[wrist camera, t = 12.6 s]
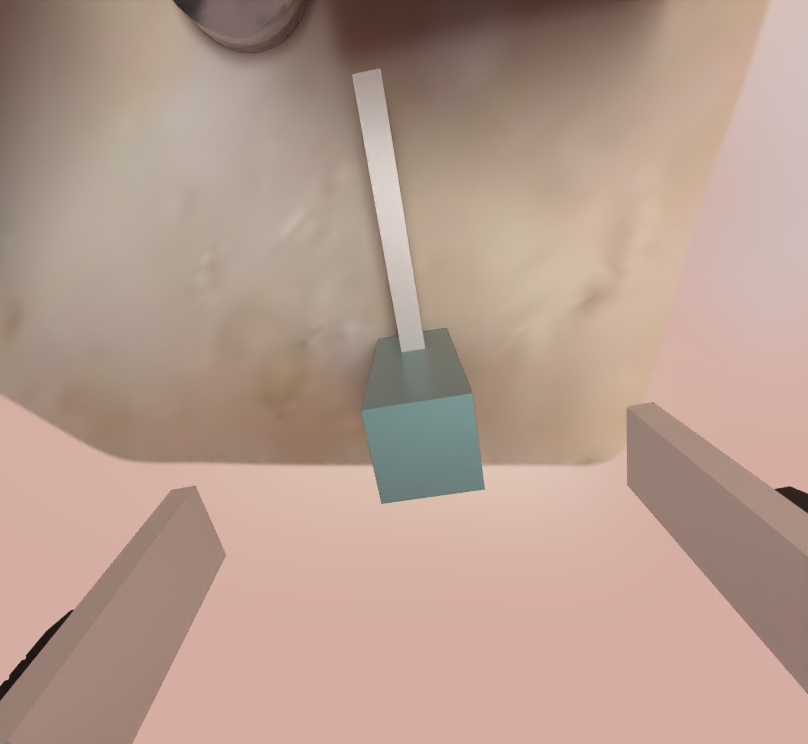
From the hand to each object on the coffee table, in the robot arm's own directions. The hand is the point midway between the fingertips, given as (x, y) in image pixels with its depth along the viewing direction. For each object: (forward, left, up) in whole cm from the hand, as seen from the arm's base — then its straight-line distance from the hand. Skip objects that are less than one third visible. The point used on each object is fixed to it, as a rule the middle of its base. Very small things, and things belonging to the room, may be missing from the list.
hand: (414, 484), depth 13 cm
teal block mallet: (+1, +6, -13) cm, 14 cm away
